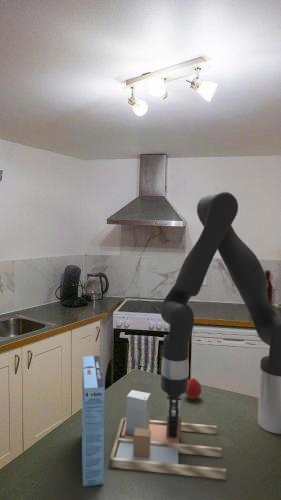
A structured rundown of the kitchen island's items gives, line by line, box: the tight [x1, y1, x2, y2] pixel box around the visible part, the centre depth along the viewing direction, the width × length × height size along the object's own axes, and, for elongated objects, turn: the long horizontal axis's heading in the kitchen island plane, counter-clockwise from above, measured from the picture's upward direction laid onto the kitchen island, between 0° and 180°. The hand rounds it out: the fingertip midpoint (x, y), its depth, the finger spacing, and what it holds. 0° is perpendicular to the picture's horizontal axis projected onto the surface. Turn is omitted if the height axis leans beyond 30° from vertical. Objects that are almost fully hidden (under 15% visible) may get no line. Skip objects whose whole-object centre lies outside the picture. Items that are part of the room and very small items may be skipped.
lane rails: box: [109, 416, 227, 480], centre depth 88 cm, size 28×18×2 cm, turn 84°
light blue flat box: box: [81, 355, 106, 487], centre depth 83 cm, size 20×5×23 cm, turn 10°
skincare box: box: [125, 389, 152, 437], centre depth 93 cm, size 6×4×12 cm
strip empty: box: [115, 428, 179, 464], centre depth 84 cm, size 16×7×7 cm, turn 84°
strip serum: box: [121, 413, 182, 444], centre depth 92 cm, size 16×8×7 cm, turn 84°
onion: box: [184, 376, 202, 400], centre depth 114 cm, size 6×6×8 cm
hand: (172, 432), depth 92 cm, fingers closed on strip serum, 3 cm apart
